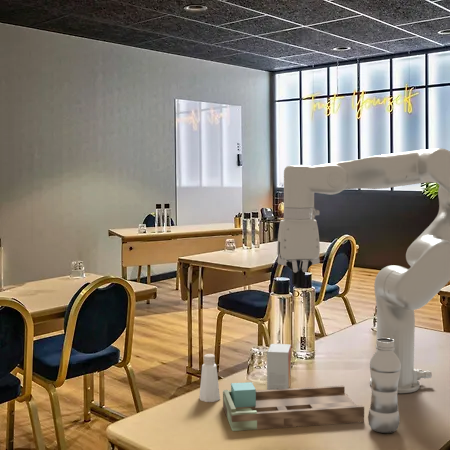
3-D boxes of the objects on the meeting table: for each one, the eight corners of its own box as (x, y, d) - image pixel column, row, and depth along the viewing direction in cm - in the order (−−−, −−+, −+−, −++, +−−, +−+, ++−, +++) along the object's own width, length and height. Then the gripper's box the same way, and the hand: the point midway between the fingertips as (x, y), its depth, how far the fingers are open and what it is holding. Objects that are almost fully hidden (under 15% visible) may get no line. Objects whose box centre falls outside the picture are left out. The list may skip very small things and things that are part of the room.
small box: (288, 393, 154) (288, 352, 154) (266, 391, 156) (266, 351, 155) (291, 382, 162) (291, 344, 161) (270, 381, 163) (270, 343, 163)
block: (251, 398, 146) (251, 382, 145) (255, 406, 141) (255, 389, 140) (231, 399, 145) (231, 383, 144) (234, 407, 140) (234, 390, 140)
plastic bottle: (363, 425, 135) (364, 336, 133) (393, 423, 135) (395, 335, 133) (373, 437, 128) (374, 344, 126) (404, 436, 129) (406, 343, 127)
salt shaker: (204, 403, 148) (204, 359, 147) (195, 396, 152) (194, 353, 151) (224, 399, 150) (224, 356, 149) (214, 393, 155) (214, 350, 154)
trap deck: (343, 399, 150) (343, 381, 150) (364, 421, 136) (364, 402, 136) (223, 406, 146) (222, 388, 145) (232, 431, 132) (232, 410, 132)
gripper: (323, 213, 157) (322, 283, 158) (266, 214, 154) (266, 285, 156) (332, 215, 149) (331, 288, 151) (272, 216, 147) (273, 291, 148)
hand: (298, 287), depth 153 cm, fingers closed
